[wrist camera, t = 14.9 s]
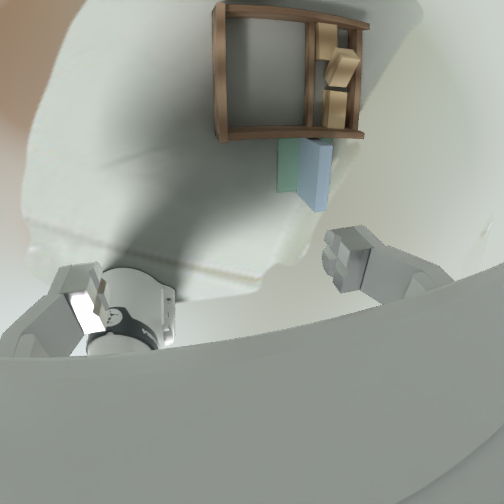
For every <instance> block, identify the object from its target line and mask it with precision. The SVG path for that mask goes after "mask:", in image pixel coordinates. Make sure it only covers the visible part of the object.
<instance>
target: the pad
mask: <svg viewBox="0 0 504 504" xmlns="http://www.w3.org/2000/svg"><path fill="white" fill-rule="evenodd" d="M319 139H321V140H323V141H325V142H327V143H329V144H330V145H331V141H332V138H319ZM299 152H300V138H278V167H277V193H279V192H291V191H297V188H298V171H299Z"/></svg>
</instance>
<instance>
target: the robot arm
mask: <svg viewBox="0 0 504 504" xmlns="http://www.w3.org/2000/svg"><path fill="white" fill-rule="evenodd" d="M324 241H325V242H326V244H327V246H326V247H325V248H324V250H323V254H322V263H323V267H324V270H325V271H326V273H327V274H328V275H330V276H332V277H334V278H333V283H334V285H335V286H336V287H337V289H338V290H339V292H340V293H345V292H351V291H355V290H361V291H362V292H363V293H365V294H367V295H368V296H370V297H372V298H373V299H374V300H376V301H378V302H379V303H381V304H382V305H380V306H376V307H373V308H369V309H366V310H362V311H358V312H355V313H351V314H347V315H343V316H339V317H335V318H331V319H327V320H323V321H319V322H314V323H310V324H306V325H301V326H296V327H292V328H287V329H282V330H277V331H273V332H268V333H262V334H257V335H252V336H246V337H241V338H235V339H229V340H223V341H217V342H210V343H203V344H197V345H190V346H182V347H175V348H167V349H165V347H166V346H168V345H170V344H172V343H173V342H174V340H175V290H174V289H173V288H171V287H168V286H166V285H163V284H160V283H159V282H157V281H156V280H155V279H153V278H152V277H151V276H149V275H148V274H146V273H144V272H142V271H139V270H136V269H131V268H116V269H111V270H108V271H106V272H104V273H103V271H102V268H101V266H100V263H98V262H89V263H82V264H74V265H67V266H62V267H60V268H59V269H58V272H57V274H56V276H55V278H54V281H53V283H52V285H51V287H50V290H49V292H48V295H46V296H43V297H42V298H41V299H40V300H38V302H36V303H35V304H34V305H33V306H32V307H31V308H29V309H28V310H27V311H26V312H25V313H24V314H23V315H22V316H21V317H20V318H19V319H18V320H17V321H15V322H14V323H13V324H12V325H11V326H10V327H9V328H8V329H7V330H6V331H5V332H4V333H3V334H2V336H1V339H0V504H504V263H502V264H499V265H497V266H495V267H492V268H490V269H487V270H485V271H482V272H479V273H477V274H474V275H471V276H469V277H466V278H463V279H461V280H458V281H454V280H453V279H452V278H451V277H450V276H449V275H448V274H447V273H446V272H445V271H444V270H443V269H442V268H441V267H440V266H438V265H435V264H433V263H431V262H428V261H426V260H423V259H421V258H419V257H416V256H414V255H411V254H409V253H406V252H404V251H401V250H398V249H396V248H394V247H391V246H385V245H384V244H383V243H382V242H381V241H380V240H379V239H378V238H377V237H376V236H375V235H374V234H373V233H372V232H370V230H368V229H367V228H366V227H365V226H363V225H358V226H352V227H346V228H340V229H333V230H327V232H326V234H325V239H324ZM102 273H103V274H102ZM167 298H170V299H167ZM84 333H87V334H88V336H87V341H86V352H87V356H71V357H69V356H70V354H71V353H72V351H73V350H74V349H75V347H76V346H77V344H78V343H79V342H80V340H81V339H82V337H83V336H84Z"/></svg>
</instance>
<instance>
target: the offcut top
mask: <svg viewBox="0 0 504 504" xmlns="http://www.w3.org/2000/svg"><path fill="white" fill-rule="evenodd" d="M359 62H360V59H359V57H358V56H357V55H356V53H355V52H354V50H351V49H344V48H336V47H335V49H334V51H333V54H332V56H331V58H330V61H329V63H328V66H327V68H326V70H325V73H324V75H323V76H324V78H325V80H326V81H327V83H328V85H329V86H335V87H347V85H348V83H349V81H350V79H351V77H352V75H353V73H354V71H355V69H356V67H357V65H358V63H359Z"/></svg>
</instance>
